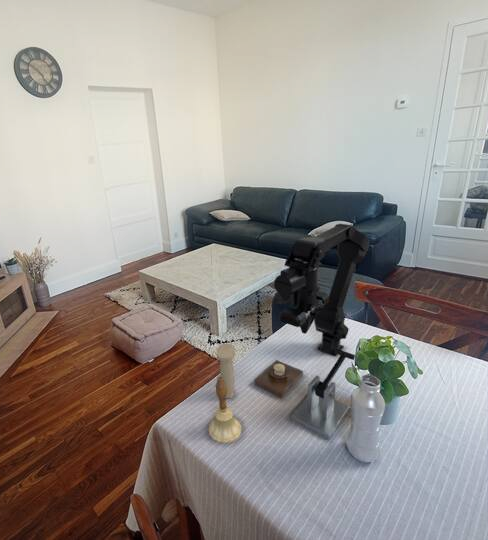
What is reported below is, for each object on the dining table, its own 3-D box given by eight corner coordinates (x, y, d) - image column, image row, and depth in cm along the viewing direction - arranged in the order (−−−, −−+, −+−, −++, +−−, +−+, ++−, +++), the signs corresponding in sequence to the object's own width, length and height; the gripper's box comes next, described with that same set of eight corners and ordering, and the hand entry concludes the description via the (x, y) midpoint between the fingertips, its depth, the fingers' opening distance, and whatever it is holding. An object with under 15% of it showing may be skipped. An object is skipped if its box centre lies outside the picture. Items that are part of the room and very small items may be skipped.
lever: (336, 352, 94) (336, 346, 93) (355, 359, 91) (355, 352, 90) (309, 392, 85) (309, 386, 84) (329, 401, 82) (328, 394, 80)
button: (277, 367, 100) (277, 362, 100) (286, 371, 98) (286, 366, 98) (271, 372, 98) (271, 367, 98) (281, 377, 96) (281, 372, 96)
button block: (276, 364, 106) (276, 355, 105) (303, 376, 100) (303, 366, 99) (254, 385, 99) (254, 375, 97) (282, 398, 93) (282, 388, 91)
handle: (237, 387, 98) (234, 343, 93) (236, 403, 92) (234, 357, 87) (220, 387, 99) (217, 343, 94) (219, 403, 93) (215, 357, 88)
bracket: (312, 393, 94) (313, 364, 90) (349, 410, 87) (352, 379, 83) (290, 419, 86) (291, 388, 82) (329, 440, 79) (331, 407, 75)
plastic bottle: (365, 472, 71) (374, 396, 64) (339, 449, 76) (345, 377, 69) (385, 458, 73) (396, 384, 66) (358, 436, 79) (366, 366, 72)
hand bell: (232, 448, 79) (228, 394, 73) (202, 435, 83) (196, 382, 78) (247, 423, 85) (244, 372, 80) (218, 412, 90) (214, 362, 84)
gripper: (296, 268, 105) (295, 312, 110) (262, 289, 92) (263, 338, 98) (331, 275, 97) (328, 322, 103) (299, 299, 85) (298, 351, 91)
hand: (304, 332), depth 99 cm, fingers closed
